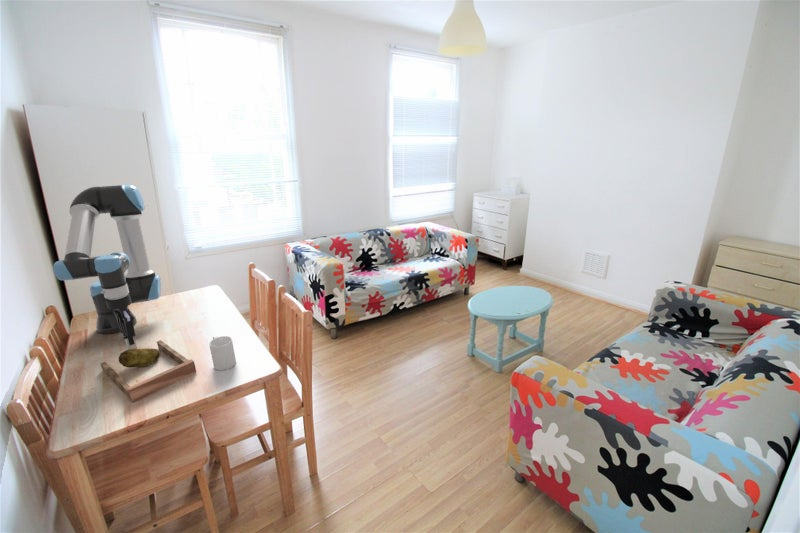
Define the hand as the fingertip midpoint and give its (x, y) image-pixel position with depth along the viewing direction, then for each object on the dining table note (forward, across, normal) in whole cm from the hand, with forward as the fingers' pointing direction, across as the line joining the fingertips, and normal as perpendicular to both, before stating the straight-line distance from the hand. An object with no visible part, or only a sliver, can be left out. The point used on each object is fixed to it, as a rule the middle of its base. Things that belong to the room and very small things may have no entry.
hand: (133, 350), depth 146 cm
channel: (+5, +12, 0) cm, 13 cm away
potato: (+5, +6, 0) cm, 7 cm away
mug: (+5, +30, +20) cm, 36 cm away
